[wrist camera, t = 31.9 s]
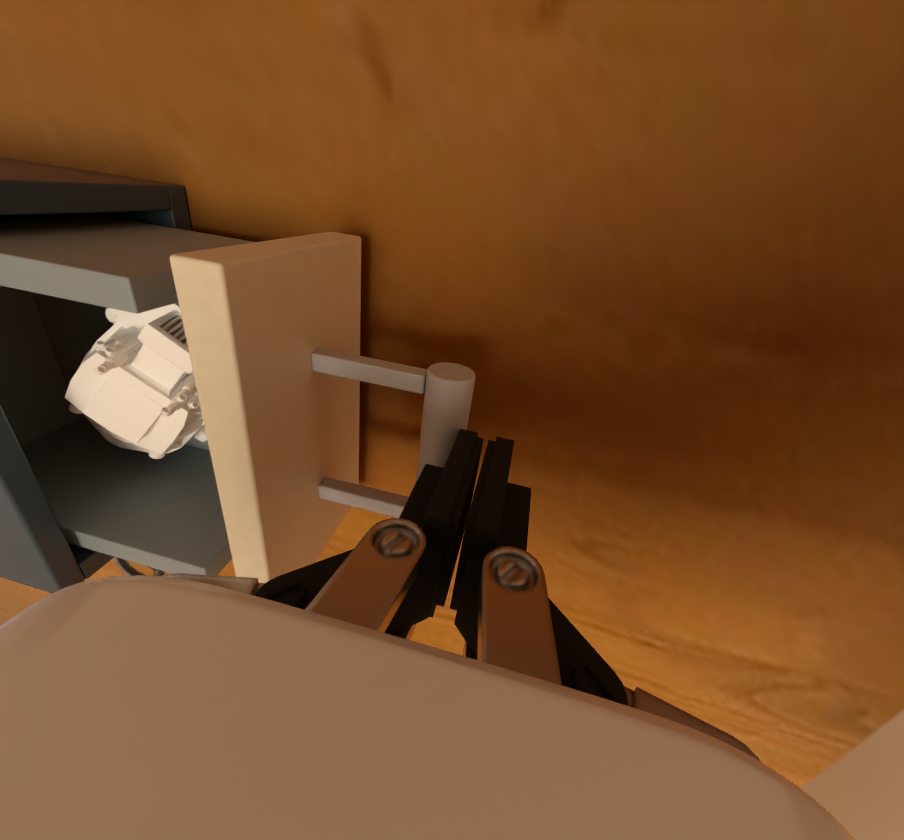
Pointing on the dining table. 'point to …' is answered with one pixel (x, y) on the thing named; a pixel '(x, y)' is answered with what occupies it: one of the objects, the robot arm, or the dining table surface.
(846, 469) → the dining table surface
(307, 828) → the robot arm
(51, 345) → the drawer
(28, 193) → the cabinet
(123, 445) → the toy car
